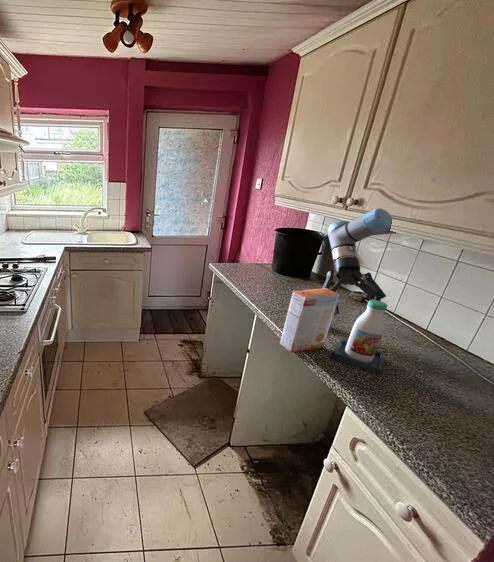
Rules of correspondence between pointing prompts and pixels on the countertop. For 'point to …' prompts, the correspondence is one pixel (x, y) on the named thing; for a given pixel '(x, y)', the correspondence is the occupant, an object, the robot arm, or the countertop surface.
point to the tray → (372, 366)
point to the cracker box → (308, 319)
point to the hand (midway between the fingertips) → (356, 315)
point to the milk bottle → (367, 333)
